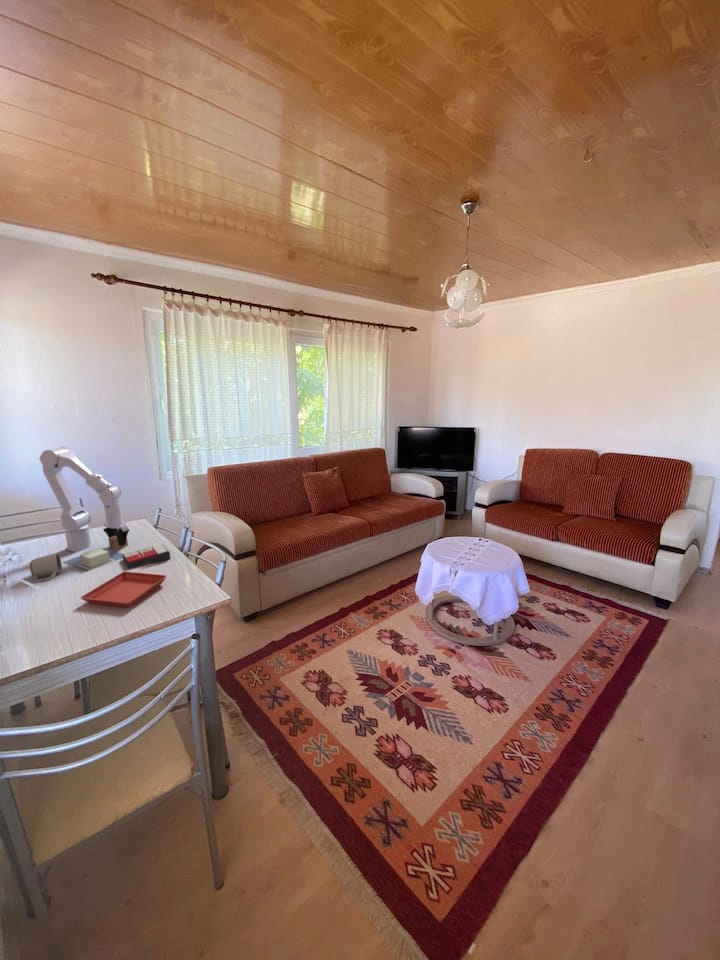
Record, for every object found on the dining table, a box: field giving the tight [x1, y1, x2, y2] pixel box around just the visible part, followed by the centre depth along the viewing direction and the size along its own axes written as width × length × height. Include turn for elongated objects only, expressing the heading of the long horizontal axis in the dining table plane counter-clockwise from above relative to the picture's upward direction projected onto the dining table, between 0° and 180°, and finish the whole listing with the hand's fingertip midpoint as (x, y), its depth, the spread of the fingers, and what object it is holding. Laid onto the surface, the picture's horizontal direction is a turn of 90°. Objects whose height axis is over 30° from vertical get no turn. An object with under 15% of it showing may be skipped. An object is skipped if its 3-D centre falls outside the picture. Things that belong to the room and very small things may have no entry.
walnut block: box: [107, 536, 129, 550], centre depth 168 cm, size 5×5×5 cm
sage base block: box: [79, 548, 110, 568], centre depth 151 cm, size 7×7×4 cm
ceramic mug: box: [29, 553, 63, 583], centre depth 141 cm, size 11×8×8 cm
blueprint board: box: [62, 547, 125, 572], centre depth 155 cm, size 18×16×1 cm
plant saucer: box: [80, 571, 167, 608], centre depth 129 cm, size 18×18×3 cm
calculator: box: [122, 543, 171, 569], centre depth 155 cm, size 11×4×15 cm
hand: (118, 544), depth 168 cm, fingers open, 6 cm apart
